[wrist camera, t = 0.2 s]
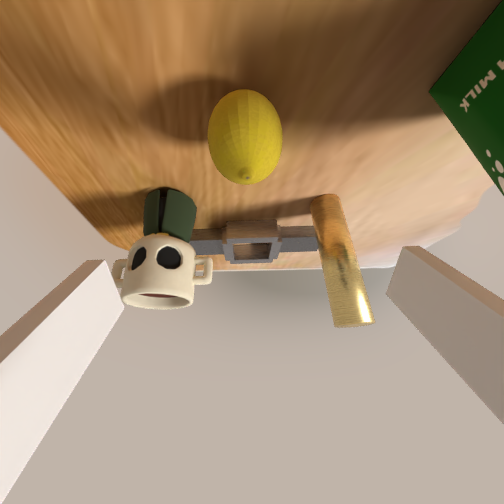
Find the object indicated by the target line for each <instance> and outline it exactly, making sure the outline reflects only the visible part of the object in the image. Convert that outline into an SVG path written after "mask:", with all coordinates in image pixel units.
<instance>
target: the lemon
mask: <svg viewBox="0 0 504 504" xmlns="http://www.w3.org/2000/svg"><path fill="white" fill-rule="evenodd" d="M208 144H209V150H210V154H211V157H212V160H213V162H214V164H215V166H216V168H217V169H218V170H219V172H220V173H221V174H222V175H223V176H224V177H226V178H227V179H228V180H230V181H232V182H235V183H238V184H244V185H249V184H255V183H257V182H260V181H262V180H263V179H265V178H266V177H268V176H269V175H270V174H271V173H272V171H273V170H274V168H275V167H276V165H277V163H278V160H279V157H280V154H281V150H282V127H281V123H280V119H279V116H278V113H277V112H276V110H275V108H274V106H273V105H272V103H271V102H270V101H269V100H268V99H267V98H266V97H265V96H263V95H262V94H260V93H258V92H256V91H253V90H249V89H239V90H235V91H232V92H230V93H228V94H227V95H225V96H224V97H223V98H221V100H220V101H219V102H218V103H217V105H216V106H215V108H214V110H213V112H212V114H211V117H210V120H209V126H208Z"/></svg>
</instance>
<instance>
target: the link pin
mask: <svg viewBox="0 0 504 504" xmlns="http://www.w3.org/2000/svg"><path fill="white" fill-rule="evenodd" d="M310 210H311V215H312V220H313V225H314V230H315V235H316V239H317V244H318V249H319V254H320V259H321V264H322V268H323V273H324V278H325V283H326V288H327V293H328V297H329V302H330V307H331V311H332V317H333V322H334V326H335V327H338V328H343V327H358V326H365V325H370V324H374V323H375V319H374V316H373V313H372V309H371V306H370V302H369V299H368V295H367V292H366V288H365V285H364V282H363V278H362V275H361V271H360V267H359V264H358V261H357V257H356V254H355V250H354V247H353V243H352V240H351V236H350V233H349V229H348V226H347V222H346V219H345V215H344V212H343V209H342V205H341V202H340V198H339V197H338V196H337V195H334V194H325V195H321V196H319V197H317V198H315V199H314V200H313V201H312V202H311V204H310Z"/></svg>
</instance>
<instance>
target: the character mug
mask: <svg viewBox="0 0 504 504" xmlns="http://www.w3.org/2000/svg"><path fill="white" fill-rule="evenodd" d="M196 209H197V207H196V206H195V204H194V202H193V200H192V199H191V198H190V197H188V196H187V195H185V194H184V193H181V192H178V191H174V190H168V192H167V197H163V198H160V190H156V191H153V192H151V193H149V194H148V196H147V198H146V199H145V205H144V227H143V233H144V237H142V238H141V239H139V240H138V241H136V242H135V243H134V244H133V245H132V247H131V249H130V251H129V255H128V259H120V260H116V261H115V263H114V265H113V269H112V273H111V275H112V278H113V280H114V283H115V285H116V288H122V290H121V295H120V298H121V301H122V302H123V303H125V304H128V305H131V306H135V307H140V308H149V309H176V308H183V307H187V306H189V305H191V304H192V303H193V298H194V285H203V284H209V283H211V280H212V267H213V261H212V258H210V257H196V252H195V250H194V248H193V247H192V246H191V245H190V244H189V242H190V239H191V235H192V231H193V227H194V223H195V218H196ZM196 265H204V274H203V276H195V271H196ZM124 267H126V268H125V273H124V279H120V278H121V274H122V269H123V268H124Z"/></svg>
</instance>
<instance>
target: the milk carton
mask: <svg viewBox="0 0 504 504" xmlns="http://www.w3.org/2000/svg"><path fill="white" fill-rule="evenodd" d="M429 93H430V94H431V96H432V97H433V98H434V100H435V101H436V102H437V104H438V105H439V106H440V108H441V109H442V110H443V112H444V113H445V115H446V116H447V117H448V119H449V120H450V122H451V123H452V124H453V126H454V127H455V128H456V130H457V131H458V133H459V134H460V135H461V137H462V138H463V139H464V141H465V142H466V143H467V145H468V146H469V148H470V149H471V151H472V152H473V154H474V155H475V156H476V158H477V159H478V161H479V162H480V163H481V165H482V166H483V168H484V169H485V170H486V172H487V173H488V175H489V176H490V177H491V179H492V180H493V182H494V183H495V184H496V186H497V187H498V189H499V190H500V191H501V193H502V194H503V195H504V0H502V2H501V3H500V4H499V5H498V7H497V8H496V9H495V10H494V12H493V13H492V14H491V15H490V16H489V18H488V19H487V20H486V21H485V23H484V24H483V25H482V26H481V28H480V29H479V30H478V31H477V33H476V34H475V35H474V36H473V38H472V39H471V40H470V41H469V42H468V44H467V45H466V46H465V47H464V49H463V50H462V51H461V52H460V54H459V55H458V56H457V57H456V59H455V60H454V61H453V62H452V64H451V65H450V66H449V67H448V68H447V70H446V71H445V72H444V73H443V75H442V76H441V77H440V78H439V80H438V81H437V82H436V83H435V85H434V86H433V87H432V88H431V90H430V91H429Z"/></svg>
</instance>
